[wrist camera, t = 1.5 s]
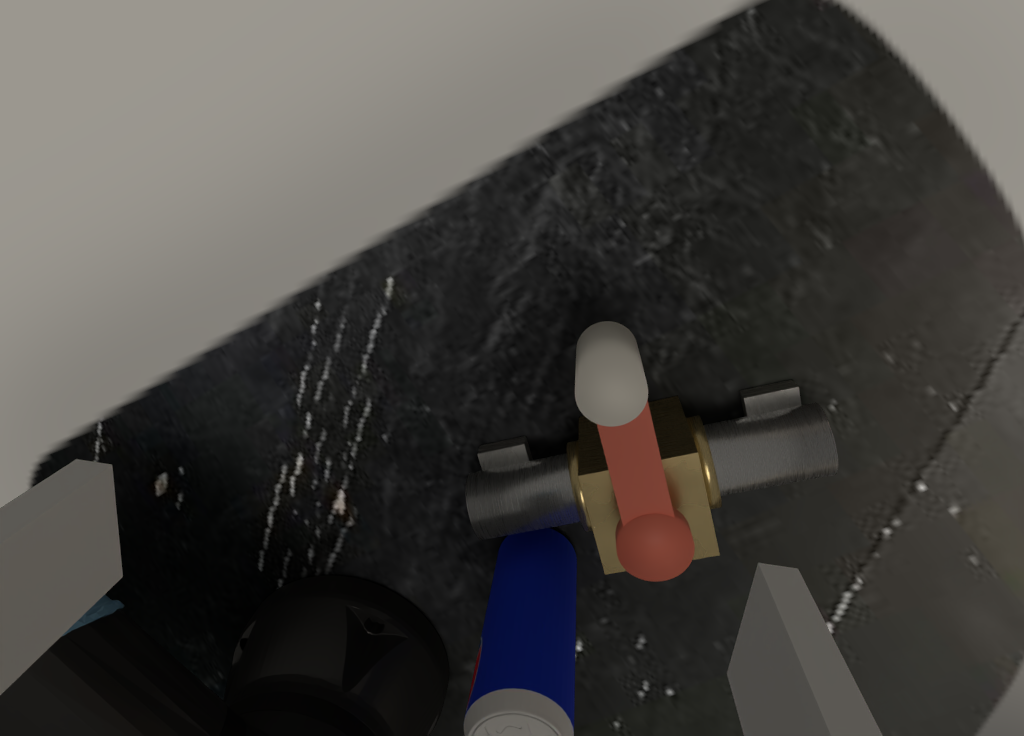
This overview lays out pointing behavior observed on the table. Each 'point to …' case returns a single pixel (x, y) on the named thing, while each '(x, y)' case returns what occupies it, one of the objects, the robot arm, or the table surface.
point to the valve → (686, 462)
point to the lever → (631, 453)
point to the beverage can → (527, 641)
